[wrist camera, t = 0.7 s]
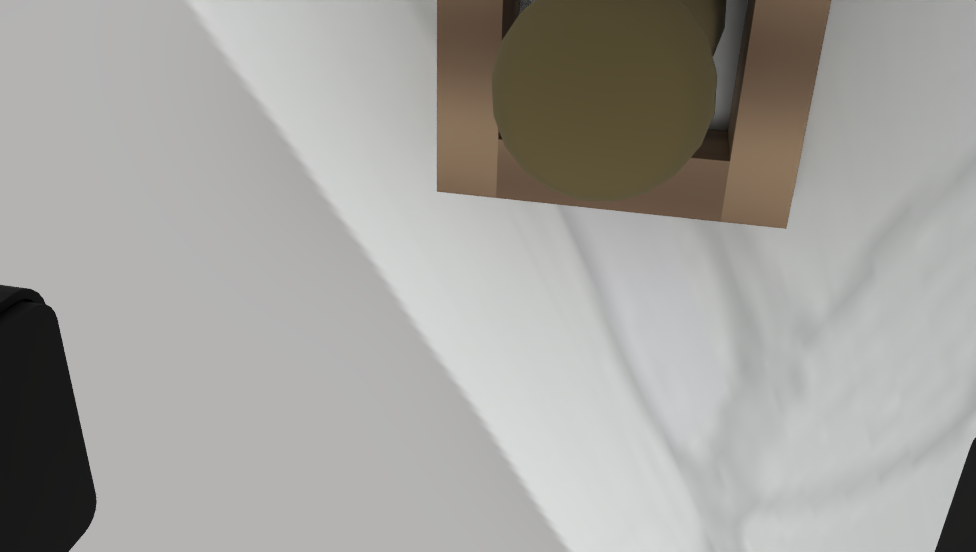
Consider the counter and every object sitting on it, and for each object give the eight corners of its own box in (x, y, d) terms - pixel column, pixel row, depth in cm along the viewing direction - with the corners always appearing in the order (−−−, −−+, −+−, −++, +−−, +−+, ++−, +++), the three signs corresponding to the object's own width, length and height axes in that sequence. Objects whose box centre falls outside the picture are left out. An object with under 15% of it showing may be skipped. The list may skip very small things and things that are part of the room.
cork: (768, 11, 28) (801, 115, 19) (627, 140, 31) (593, 287, 22) (633, -133, 27) (595, -101, 18) (499, 14, 30) (405, 110, 21)
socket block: (462, -188, 28) (438, -188, 25) (848, -176, 26) (865, -174, 23) (458, 160, 33) (437, 191, 30) (779, 193, 31) (786, 228, 28)
